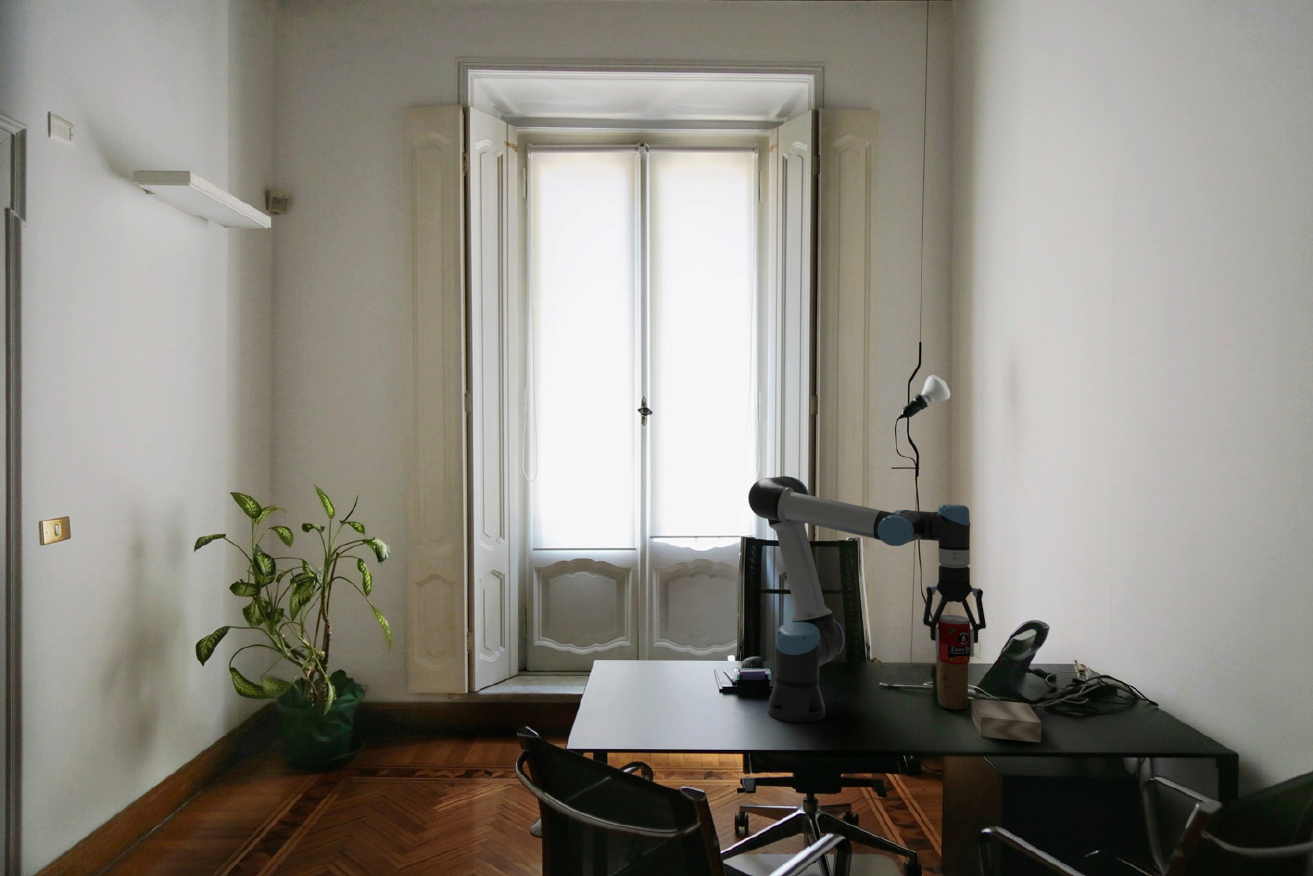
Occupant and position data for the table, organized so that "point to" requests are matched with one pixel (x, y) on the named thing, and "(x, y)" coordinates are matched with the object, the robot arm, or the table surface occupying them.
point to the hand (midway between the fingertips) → (954, 654)
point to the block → (952, 685)
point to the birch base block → (1006, 720)
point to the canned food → (954, 639)
